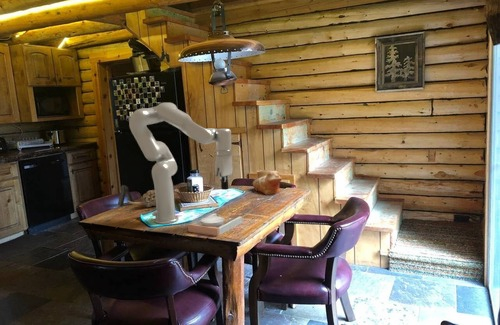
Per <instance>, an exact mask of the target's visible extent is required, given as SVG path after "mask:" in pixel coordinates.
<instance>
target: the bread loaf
mask: <svg viewBox="0 0 500 325" xmlns="http://www.w3.org/2000/svg"><path fill="white" fill-rule="evenodd" d="M256 175H257V177H256V178H255V179H254V180H253V181H252V187H253V188H254V190H255V192H258V193H262V194H264V195H266V196H267V195H274V194H279V193H281V190H280V183H281V181H282V179H283V178H282V176H280V172H279V171H277V170H273V171H272V170H267V169H262V170H257V171H256Z"/></svg>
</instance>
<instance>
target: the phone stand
mask: <svg viewBox="0 0 500 325" xmlns="http://www.w3.org/2000/svg"><path fill="white" fill-rule="evenodd" d="M120 189H121V190H120V193H119V198H118V201H117V205H118V206H119V207H121V208H122V207H126V206H132V205H134V204H129V203H128V202H125V197H127V201H131V202H135V201H134V199H133V197H132V195H131V193H130V190H129V187H128V186H127V185H125V184H122V185H121V186H120Z"/></svg>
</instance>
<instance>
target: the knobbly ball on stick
mask: <svg viewBox="0 0 500 325" xmlns="http://www.w3.org/2000/svg"><path fill="white" fill-rule="evenodd" d="M140 200H141V201H134V202H131V201H128V200H126V203H129V204H133V205H143V206H144V207H145V208H151V207H152V206H153V207H154V206H156V199H155V189H152V190H148V191H146V193H144V194H143V195H142V196H141V198H140Z"/></svg>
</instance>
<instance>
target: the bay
mask: <svg viewBox="0 0 500 325" xmlns="http://www.w3.org/2000/svg"><path fill="white" fill-rule="evenodd" d="M209 216H218V215H217V213H215V212H214V213H212V214H210V215H207V216H206V217H209ZM241 224H243V216H240V215H239V216H238V217H235V218H234V219H232V220H230V221H228V222H226V223H225V224H224V223H223V225H222V226H220V227H219V228H217V227H210V226H203V225H202V224H201V219H199V220H196V221H195V222H193V223H188V224H187V228H188V229H187V230H188V232H189V233H195V234H202V235H209V236H214V237H220V236H221V235H222V234H224V233H226V232H228V231H229V230H230V231H231V229H234V228H235V227H237V226H239V225H241Z"/></svg>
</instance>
